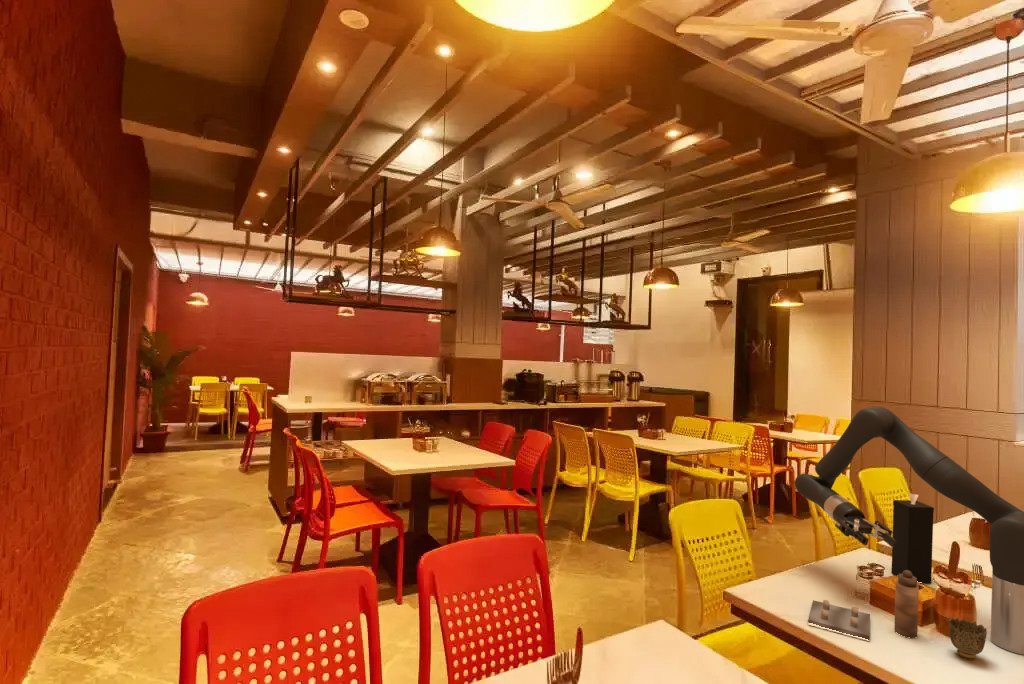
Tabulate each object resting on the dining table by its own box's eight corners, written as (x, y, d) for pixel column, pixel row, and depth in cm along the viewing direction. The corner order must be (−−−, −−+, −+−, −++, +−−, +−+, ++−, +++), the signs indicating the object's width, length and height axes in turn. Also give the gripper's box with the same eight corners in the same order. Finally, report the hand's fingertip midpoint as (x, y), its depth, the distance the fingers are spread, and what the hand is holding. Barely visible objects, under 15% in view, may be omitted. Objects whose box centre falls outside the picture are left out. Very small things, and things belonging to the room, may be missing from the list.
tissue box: (931, 584, 179) (934, 497, 179) (906, 583, 179) (909, 496, 179) (914, 574, 187) (917, 490, 187) (890, 573, 187) (893, 490, 187)
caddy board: (869, 619, 155) (870, 606, 155) (869, 641, 143) (869, 628, 143) (812, 605, 162) (813, 593, 162) (807, 625, 151) (808, 612, 151)
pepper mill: (916, 632, 148) (918, 569, 148) (917, 640, 144) (919, 575, 144) (894, 626, 151) (895, 565, 151) (894, 634, 147) (896, 571, 147)
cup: (947, 645, 142) (948, 614, 142) (985, 656, 138) (986, 624, 138) (946, 657, 136) (947, 625, 136) (986, 669, 132) (987, 635, 132)
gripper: (825, 500, 172) (861, 530, 156) (867, 502, 174) (907, 533, 158) (819, 521, 174) (854, 553, 158) (861, 524, 175) (900, 556, 160)
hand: (880, 543), depth 158 cm, fingers open, 8 cm apart
